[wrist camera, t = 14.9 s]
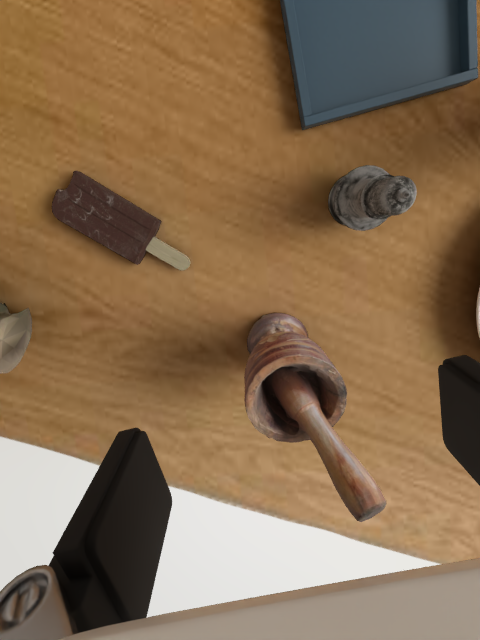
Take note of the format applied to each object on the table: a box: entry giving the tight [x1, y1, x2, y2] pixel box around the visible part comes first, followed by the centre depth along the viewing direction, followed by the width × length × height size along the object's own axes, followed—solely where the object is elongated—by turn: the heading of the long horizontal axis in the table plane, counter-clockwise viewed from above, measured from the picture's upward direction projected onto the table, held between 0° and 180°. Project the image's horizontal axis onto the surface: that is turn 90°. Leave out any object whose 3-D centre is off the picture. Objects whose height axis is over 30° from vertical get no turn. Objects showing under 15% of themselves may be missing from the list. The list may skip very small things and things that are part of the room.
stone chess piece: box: [328, 165, 416, 231], centre depth 29 cm, size 6×6×12 cm
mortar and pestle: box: [244, 313, 386, 522], centre depth 31 cm, size 12×9×20 cm
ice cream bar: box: [52, 171, 190, 270], centre depth 35 cm, size 5×2×15 cm
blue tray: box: [280, 0, 478, 130], centre depth 29 cm, size 13×16×2 cm
